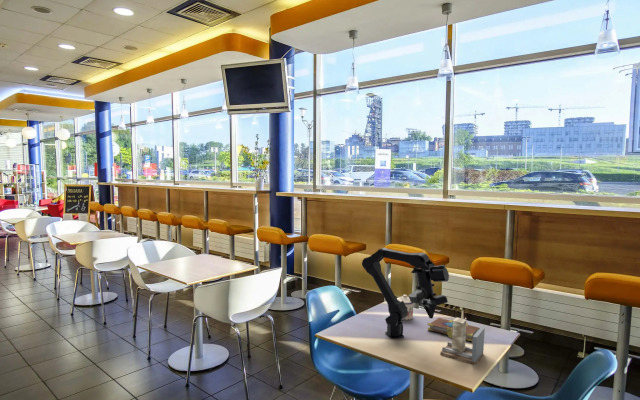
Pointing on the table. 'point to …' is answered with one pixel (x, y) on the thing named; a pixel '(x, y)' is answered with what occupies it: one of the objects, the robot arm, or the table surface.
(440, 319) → the book
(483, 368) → the table surface
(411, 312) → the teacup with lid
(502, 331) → the table surface
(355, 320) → the table surface
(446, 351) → the rail board
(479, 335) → the backstop wall
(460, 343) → the ash block
